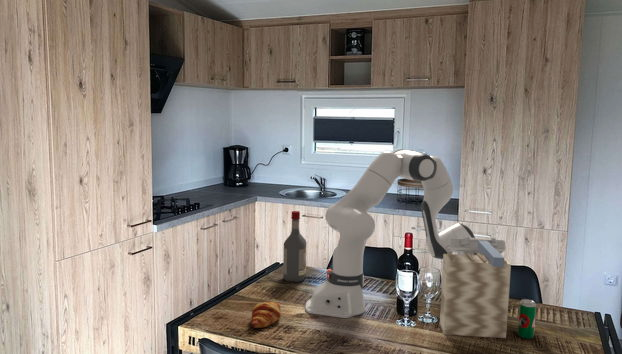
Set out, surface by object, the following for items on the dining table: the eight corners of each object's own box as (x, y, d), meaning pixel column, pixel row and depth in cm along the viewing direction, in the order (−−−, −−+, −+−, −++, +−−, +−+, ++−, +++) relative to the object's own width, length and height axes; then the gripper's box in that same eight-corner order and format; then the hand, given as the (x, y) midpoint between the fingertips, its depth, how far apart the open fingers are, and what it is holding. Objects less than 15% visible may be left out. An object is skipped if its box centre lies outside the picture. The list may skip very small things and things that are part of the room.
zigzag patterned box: (443, 334, 167) (447, 258, 164) (439, 323, 175) (443, 251, 172) (505, 338, 165) (511, 261, 162) (498, 326, 173) (503, 254, 170)
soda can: (535, 340, 163) (538, 304, 162) (519, 338, 164) (521, 303, 163) (531, 333, 168) (534, 299, 167) (515, 332, 169) (518, 298, 168)
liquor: (282, 281, 217) (283, 213, 214) (286, 274, 226) (287, 209, 223) (302, 282, 216) (304, 214, 212) (306, 276, 225) (307, 210, 221)
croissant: (270, 317, 187) (261, 297, 187) (293, 308, 184) (284, 288, 184) (246, 339, 167) (236, 317, 167) (271, 329, 164) (261, 307, 164)
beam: (493, 266, 158) (493, 257, 158) (477, 248, 180) (477, 240, 180) (503, 267, 158) (504, 257, 158) (486, 249, 180) (487, 240, 179)
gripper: (445, 240, 197) (451, 230, 185) (499, 242, 195) (508, 232, 183) (446, 256, 195) (452, 247, 182) (500, 258, 193) (510, 249, 180)
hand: (480, 239), depth 182 cm, fingers open, 8 cm apart
